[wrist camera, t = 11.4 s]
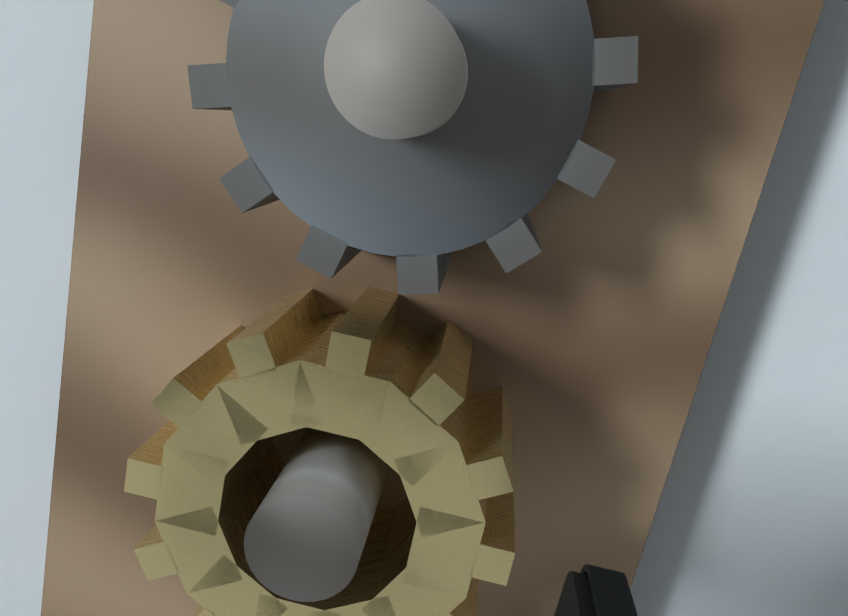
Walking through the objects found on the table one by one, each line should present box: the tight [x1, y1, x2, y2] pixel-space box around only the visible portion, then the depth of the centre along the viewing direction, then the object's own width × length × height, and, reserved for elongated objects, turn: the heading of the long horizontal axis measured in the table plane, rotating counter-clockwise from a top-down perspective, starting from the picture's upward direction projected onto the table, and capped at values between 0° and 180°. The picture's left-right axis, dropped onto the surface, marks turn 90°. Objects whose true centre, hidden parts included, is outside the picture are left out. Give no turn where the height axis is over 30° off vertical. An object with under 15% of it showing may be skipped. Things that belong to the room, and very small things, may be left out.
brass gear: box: [124, 287, 515, 616], centre depth 15 cm, size 7×7×4 cm
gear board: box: [41, 0, 825, 616], centre depth 14 cm, size 22×14×6 cm, turn 168°
